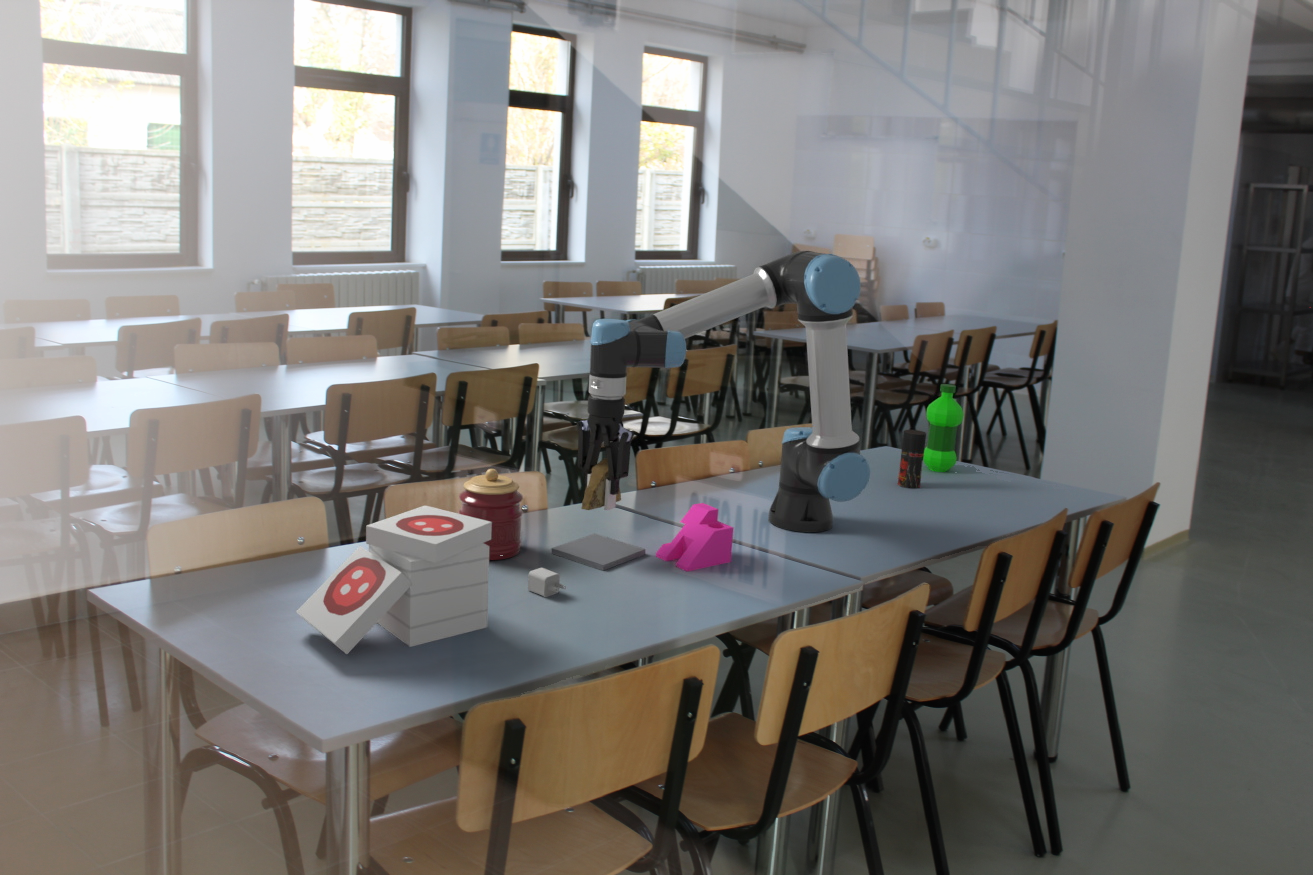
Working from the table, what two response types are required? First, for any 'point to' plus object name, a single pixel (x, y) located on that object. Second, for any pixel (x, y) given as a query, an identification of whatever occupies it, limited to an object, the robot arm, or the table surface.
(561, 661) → the table surface
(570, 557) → the slate board
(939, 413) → the plastic bottle
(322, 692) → the table surface
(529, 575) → the usb wall charger
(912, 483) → the deodorant
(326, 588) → the pizza boxes
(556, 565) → the table surface
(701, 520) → the bracket
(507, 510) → the canister
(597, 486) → the rock
